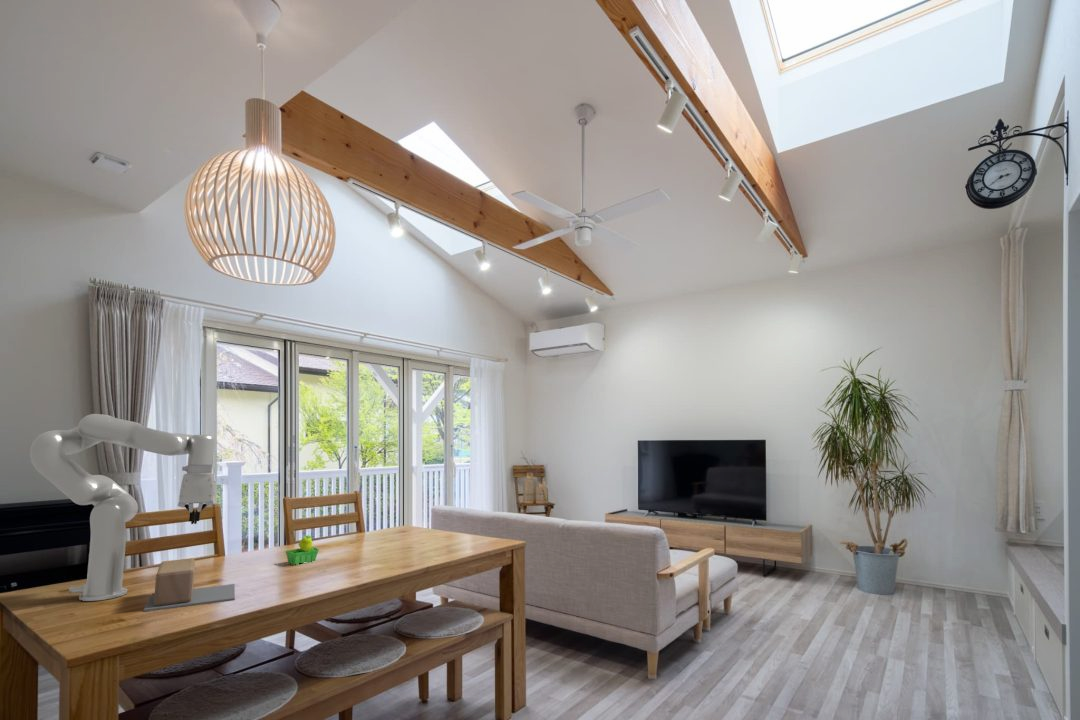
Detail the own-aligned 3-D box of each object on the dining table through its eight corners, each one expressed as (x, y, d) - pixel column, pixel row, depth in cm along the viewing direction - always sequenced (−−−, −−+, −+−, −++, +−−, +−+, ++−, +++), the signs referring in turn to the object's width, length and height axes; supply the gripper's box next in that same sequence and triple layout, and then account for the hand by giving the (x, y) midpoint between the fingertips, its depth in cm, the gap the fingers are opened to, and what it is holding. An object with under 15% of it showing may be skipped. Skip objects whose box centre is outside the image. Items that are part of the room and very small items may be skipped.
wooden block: (158, 592, 187) (153, 607, 170) (160, 560, 189) (156, 573, 172) (193, 587, 192) (191, 602, 175) (195, 557, 194) (194, 569, 177)
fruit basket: (309, 559, 239) (311, 531, 241) (321, 561, 234) (322, 533, 235) (283, 563, 231) (285, 535, 232) (294, 566, 225) (296, 537, 227)
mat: (143, 611, 168) (143, 609, 168) (151, 595, 186) (152, 593, 186) (234, 600, 180) (234, 598, 180) (234, 585, 197) (234, 583, 197)
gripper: (173, 470, 191) (167, 526, 188) (223, 470, 198) (218, 523, 196) (175, 469, 198) (169, 523, 195) (223, 469, 205) (218, 521, 202)
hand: (193, 523), depth 195 cm, fingers closed
